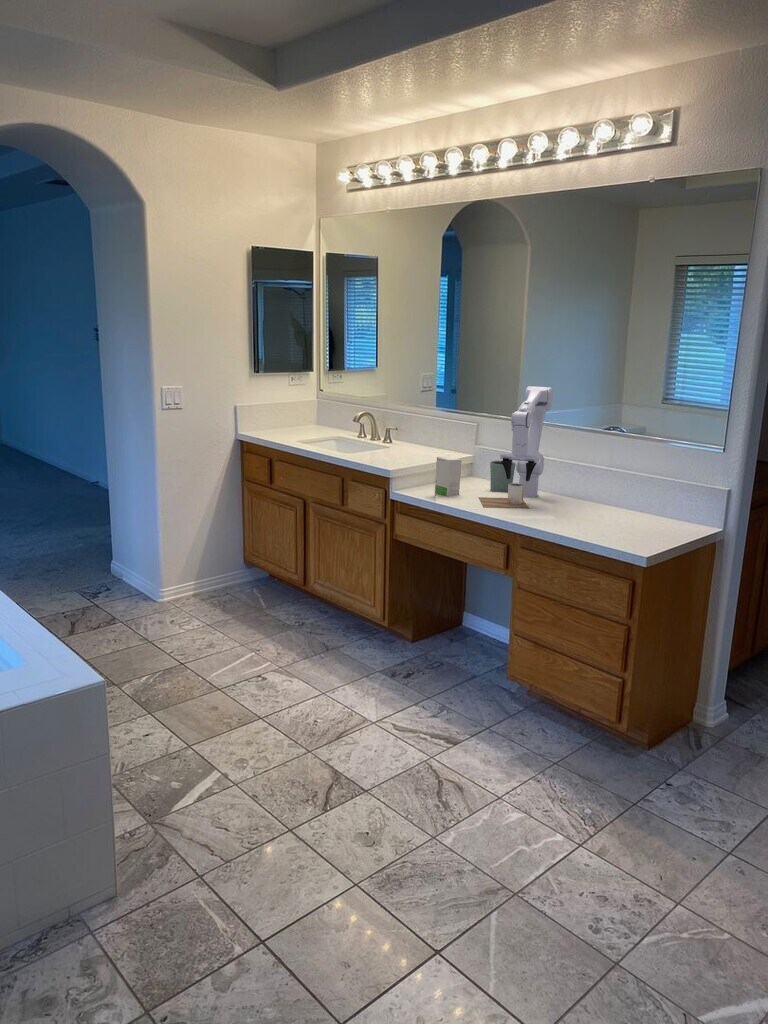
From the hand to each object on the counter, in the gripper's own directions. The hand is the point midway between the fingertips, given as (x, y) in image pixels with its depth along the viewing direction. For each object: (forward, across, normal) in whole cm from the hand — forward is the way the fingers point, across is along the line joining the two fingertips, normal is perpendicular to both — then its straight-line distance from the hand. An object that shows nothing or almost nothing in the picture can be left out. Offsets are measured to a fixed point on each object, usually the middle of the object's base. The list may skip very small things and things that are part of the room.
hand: (518, 479), depth 302 cm
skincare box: (+10, -29, 0) cm, 31 cm away
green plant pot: (+10, -15, +21) cm, 28 cm away
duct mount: (+10, -4, -3) cm, 11 cm away
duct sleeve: (+9, 0, -1) cm, 9 cm away
